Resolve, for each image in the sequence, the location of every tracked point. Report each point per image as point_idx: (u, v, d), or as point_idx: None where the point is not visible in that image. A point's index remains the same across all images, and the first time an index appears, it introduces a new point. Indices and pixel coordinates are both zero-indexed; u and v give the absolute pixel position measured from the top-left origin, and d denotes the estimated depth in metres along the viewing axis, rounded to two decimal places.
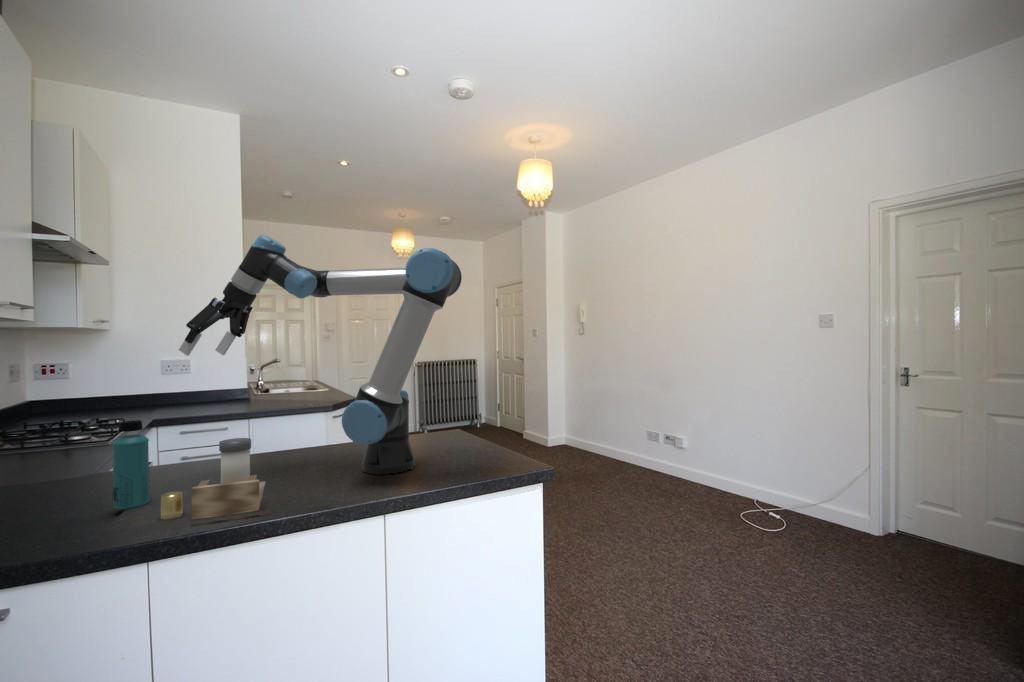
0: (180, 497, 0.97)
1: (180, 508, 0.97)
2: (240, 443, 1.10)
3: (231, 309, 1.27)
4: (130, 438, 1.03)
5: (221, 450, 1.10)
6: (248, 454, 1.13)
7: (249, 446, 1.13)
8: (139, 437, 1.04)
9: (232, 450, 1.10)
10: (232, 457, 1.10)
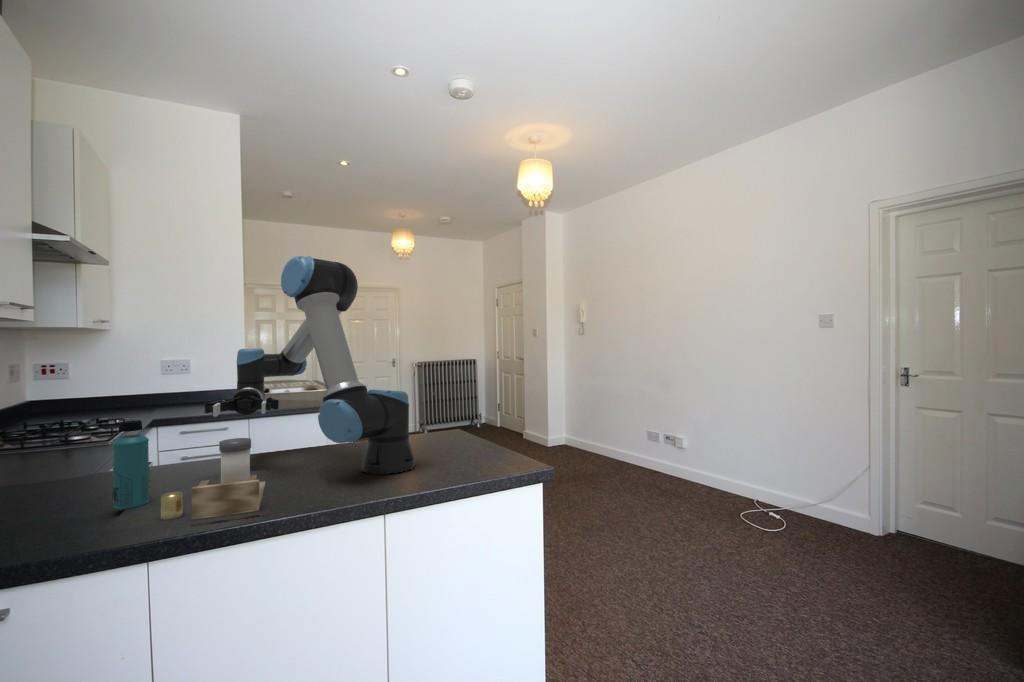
0: (180, 497, 0.97)
1: (180, 508, 0.97)
2: (240, 443, 1.10)
3: None
4: (130, 438, 1.03)
5: (221, 450, 1.10)
6: (248, 454, 1.13)
7: (249, 446, 1.13)
8: (139, 437, 1.04)
9: (232, 450, 1.10)
10: (232, 457, 1.10)
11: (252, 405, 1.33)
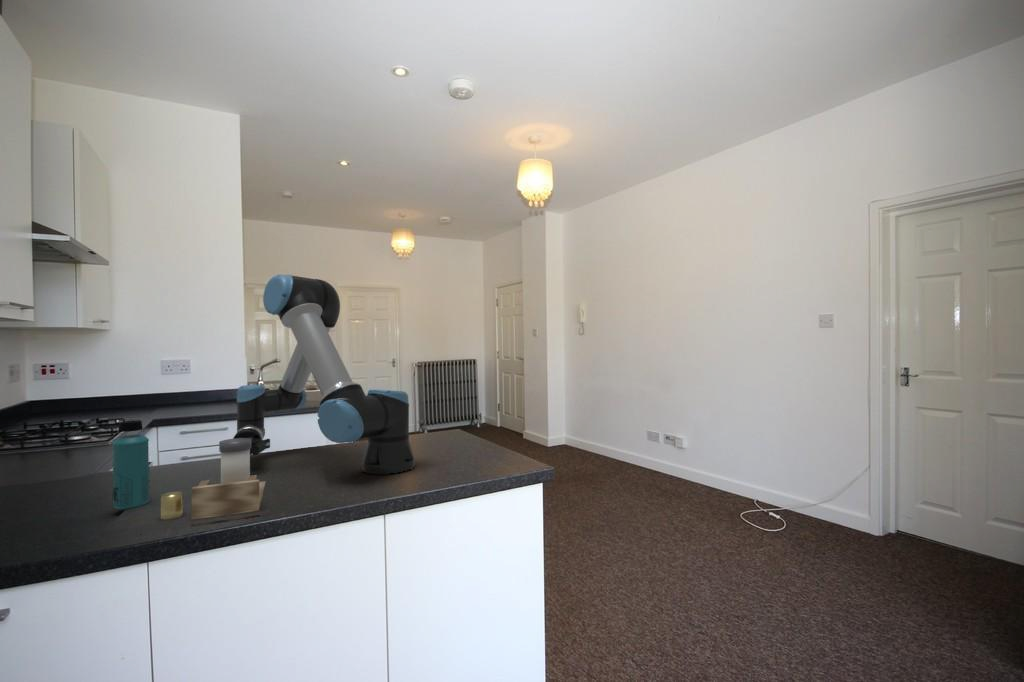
0: (180, 497, 0.97)
1: (180, 508, 0.97)
2: (240, 443, 1.10)
3: None
4: (130, 438, 1.03)
5: (221, 450, 1.10)
6: (248, 454, 1.13)
7: (249, 446, 1.13)
8: (139, 437, 1.04)
9: (232, 450, 1.10)
10: (232, 457, 1.10)
11: None
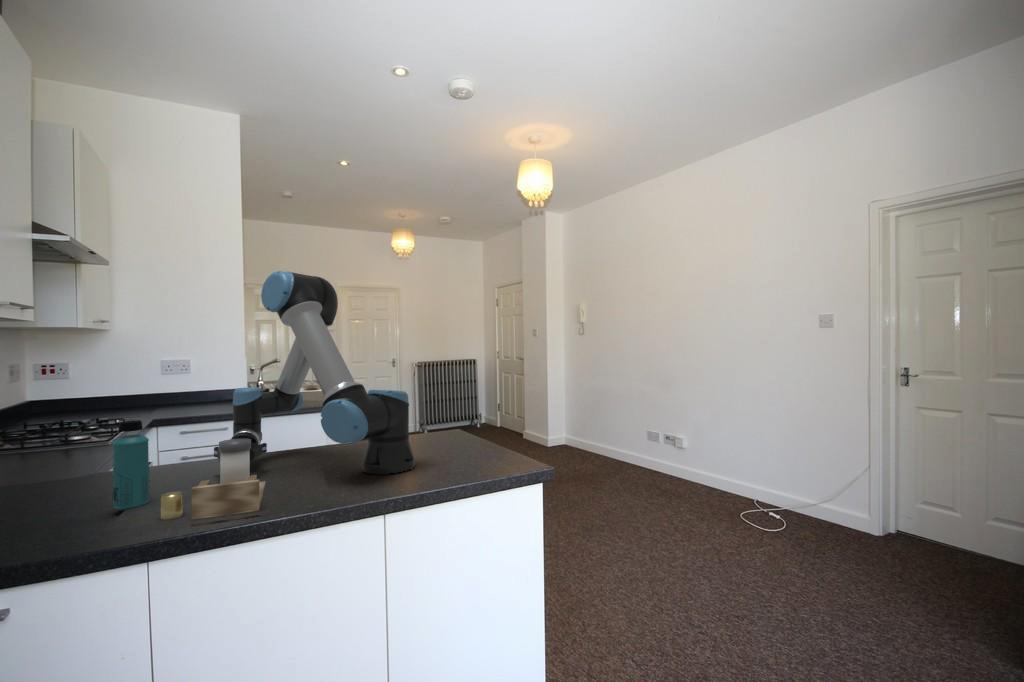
0: (180, 497, 0.97)
1: (180, 508, 0.97)
2: (240, 443, 1.10)
3: None
4: (130, 438, 1.03)
5: (221, 451, 1.09)
6: (248, 455, 1.12)
7: (249, 446, 1.12)
8: (139, 437, 1.04)
9: (232, 451, 1.09)
10: (232, 457, 1.09)
11: None
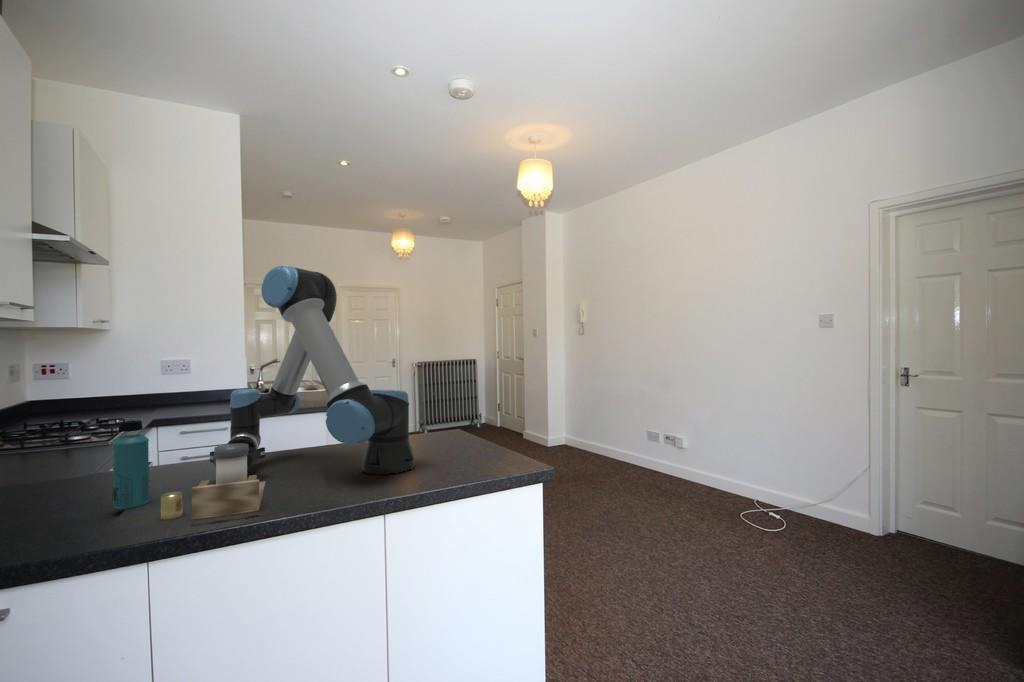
0: (180, 497, 0.97)
1: (180, 508, 0.97)
2: (236, 449, 1.04)
3: None
4: (130, 438, 1.03)
5: (216, 456, 1.03)
6: (245, 460, 1.06)
7: (246, 452, 1.06)
8: (139, 437, 1.04)
9: (228, 456, 1.03)
10: (228, 463, 1.03)
11: None
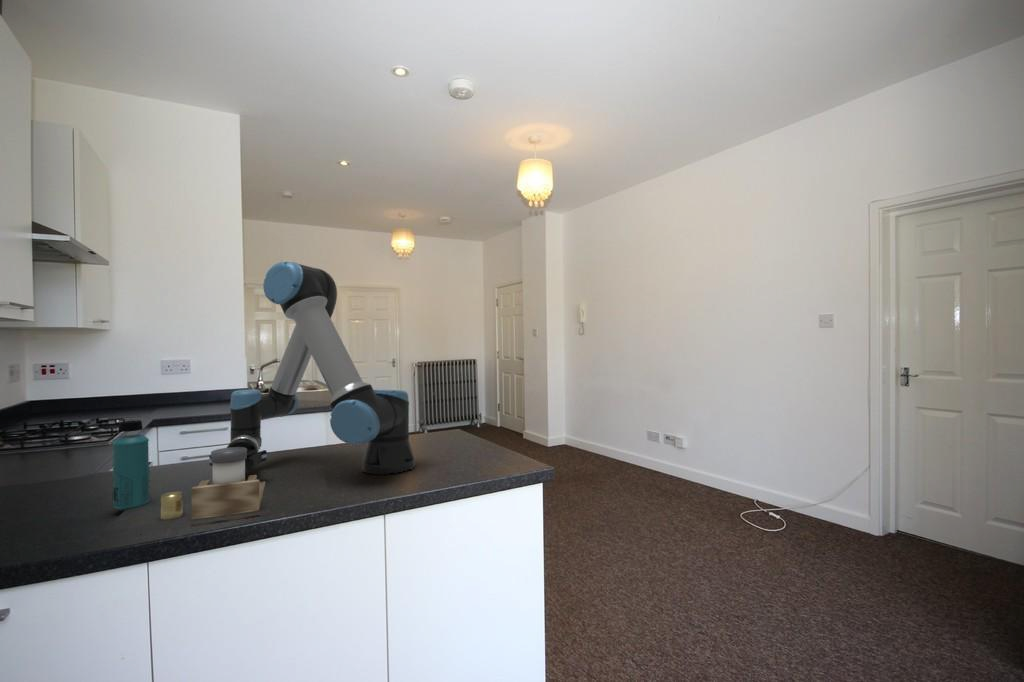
0: (180, 497, 0.97)
1: (180, 508, 0.97)
2: (234, 453, 1.00)
3: None
4: (130, 438, 1.03)
5: (213, 461, 0.99)
6: (243, 465, 1.02)
7: (244, 456, 1.02)
8: (139, 437, 1.04)
9: (225, 461, 0.99)
10: (225, 468, 0.99)
11: None
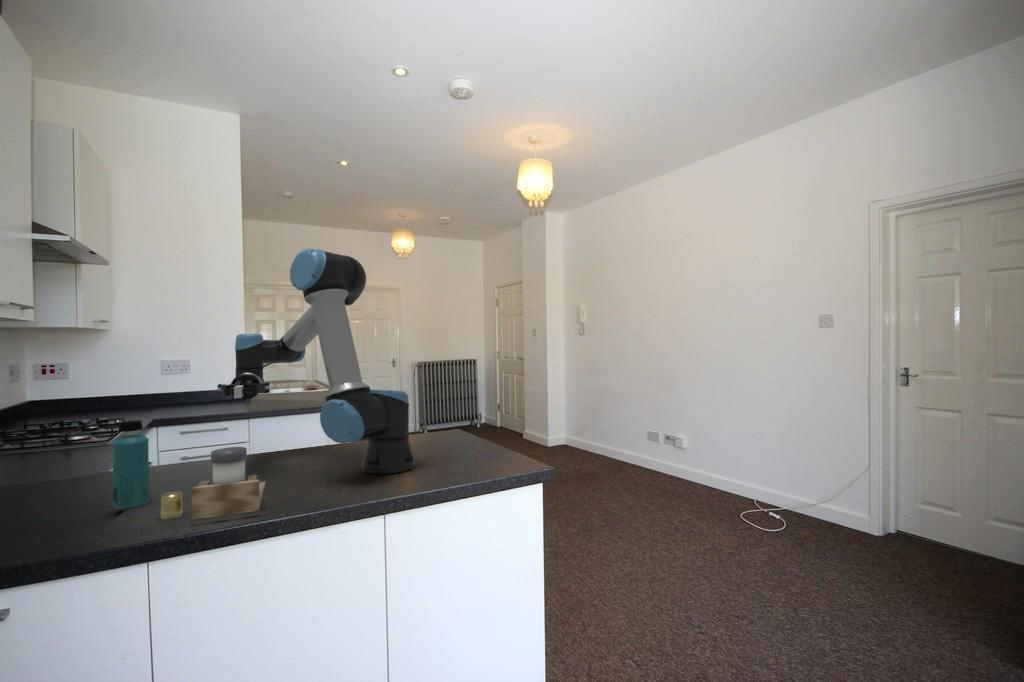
0: (180, 497, 0.97)
1: (180, 508, 0.97)
2: (234, 453, 1.00)
3: (236, 382, 1.31)
4: (130, 438, 1.03)
5: (213, 461, 0.99)
6: (243, 465, 1.02)
7: (244, 456, 1.02)
8: (139, 437, 1.04)
9: (225, 461, 0.99)
10: (225, 468, 0.99)
11: None
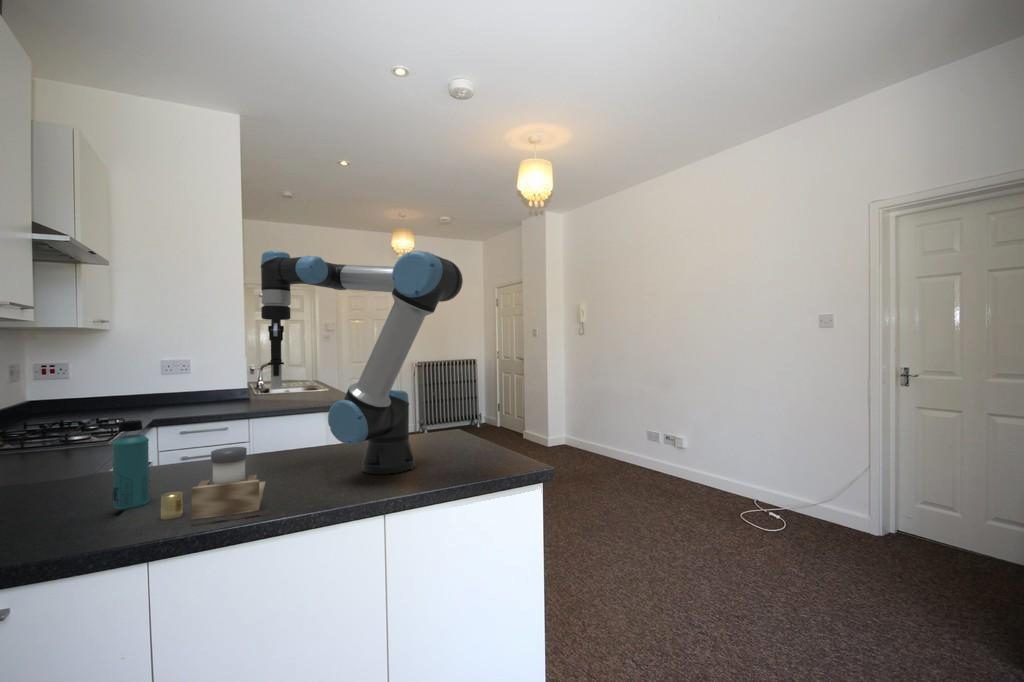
0: (180, 497, 0.97)
1: (180, 508, 0.97)
2: (234, 453, 1.00)
3: (282, 329, 1.35)
4: (130, 438, 1.03)
5: (213, 461, 0.99)
6: (243, 465, 1.02)
7: (244, 456, 1.02)
8: (139, 437, 1.04)
9: (225, 461, 0.99)
10: (225, 468, 0.99)
11: None
